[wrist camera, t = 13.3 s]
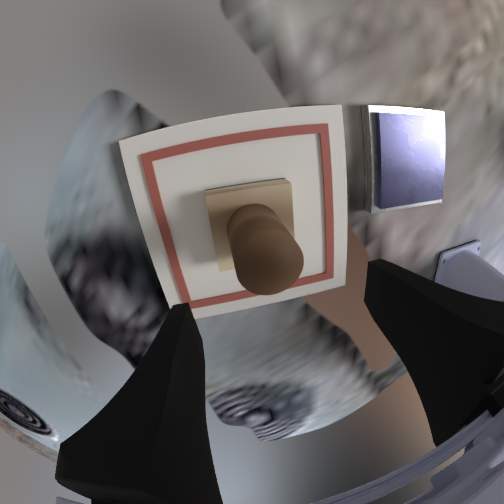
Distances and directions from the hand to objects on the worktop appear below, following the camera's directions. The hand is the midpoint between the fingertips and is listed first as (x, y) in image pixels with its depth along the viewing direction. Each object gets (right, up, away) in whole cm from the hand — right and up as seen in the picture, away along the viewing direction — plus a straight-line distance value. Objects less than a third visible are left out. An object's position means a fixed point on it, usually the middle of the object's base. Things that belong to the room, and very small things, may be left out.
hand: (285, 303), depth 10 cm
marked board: (-2, +4, +8) cm, 9 cm away
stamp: (-1, +4, +7) cm, 9 cm away
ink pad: (+11, +9, +8) cm, 16 cm away
